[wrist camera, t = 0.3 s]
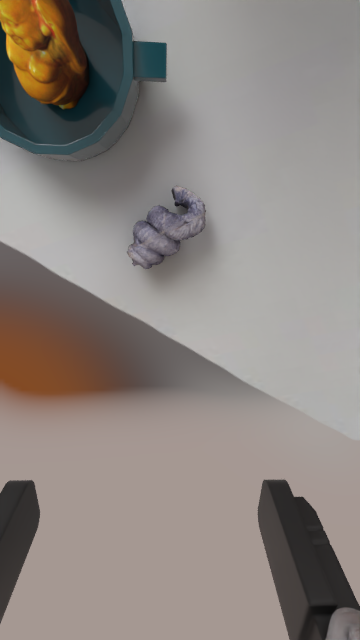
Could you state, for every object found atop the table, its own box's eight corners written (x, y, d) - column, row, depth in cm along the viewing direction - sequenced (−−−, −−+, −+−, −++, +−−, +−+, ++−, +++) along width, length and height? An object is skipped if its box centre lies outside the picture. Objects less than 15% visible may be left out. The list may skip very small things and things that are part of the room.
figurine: (31, 107, 30) (-57, 51, 18) (30, 21, 28) (-70, -109, 16) (96, 121, 31) (53, 75, 19) (102, 37, 28) (56, -75, 17)
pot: (-67, -36, 26) (-122, -90, 21) (168, -21, 27) (167, -69, 22) (-30, 157, 32) (-66, 149, 27) (165, 164, 33) (165, 158, 28)
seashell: (191, 191, 35) (135, 257, 38) (169, 167, 30) (107, 244, 33) (222, 220, 33) (160, 287, 36) (203, 199, 28) (134, 278, 31)
